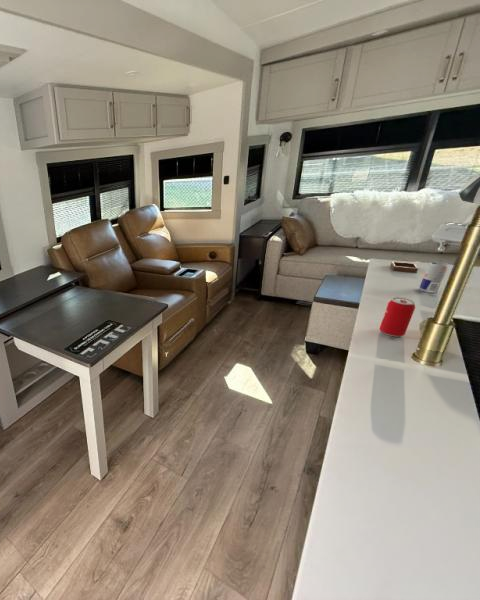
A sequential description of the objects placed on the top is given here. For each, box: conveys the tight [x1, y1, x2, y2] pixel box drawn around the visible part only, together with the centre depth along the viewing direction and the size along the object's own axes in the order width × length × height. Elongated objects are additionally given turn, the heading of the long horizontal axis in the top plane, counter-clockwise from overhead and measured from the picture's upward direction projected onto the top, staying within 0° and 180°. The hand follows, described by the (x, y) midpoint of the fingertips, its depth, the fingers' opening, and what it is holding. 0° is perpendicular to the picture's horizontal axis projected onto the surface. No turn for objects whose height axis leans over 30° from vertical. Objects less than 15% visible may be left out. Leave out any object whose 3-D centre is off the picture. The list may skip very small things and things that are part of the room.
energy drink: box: [418, 261, 449, 294], centre depth 128 cm, size 5×5×12 cm
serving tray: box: [390, 261, 419, 274], centre depth 152 cm, size 8×8×2 cm
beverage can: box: [379, 296, 416, 338], centre depth 103 cm, size 6×6×12 cm
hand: (455, 253), depth 127 cm, fingers open, 8 cm apart
